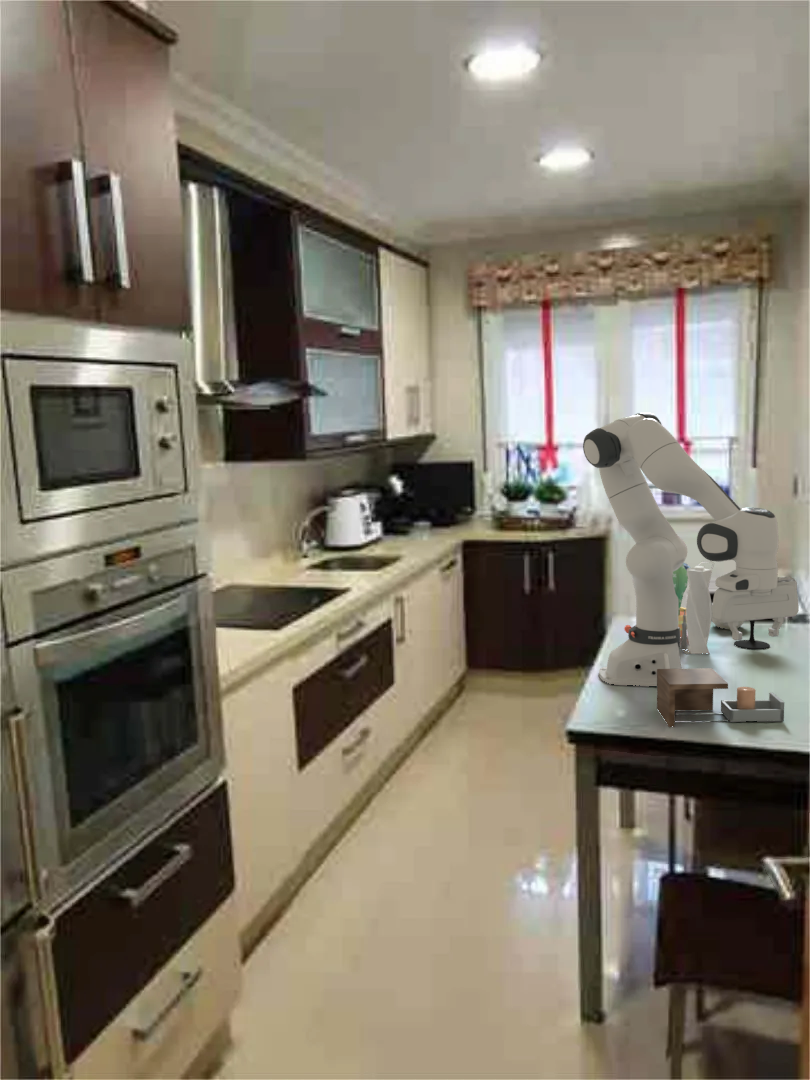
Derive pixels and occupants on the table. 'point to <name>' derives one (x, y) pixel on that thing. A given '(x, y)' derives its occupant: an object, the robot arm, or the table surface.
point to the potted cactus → (680, 590)
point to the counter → (686, 690)
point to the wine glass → (752, 640)
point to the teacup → (723, 625)
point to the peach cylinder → (745, 698)
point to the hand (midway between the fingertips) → (755, 637)
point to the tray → (755, 710)
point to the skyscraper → (697, 611)
